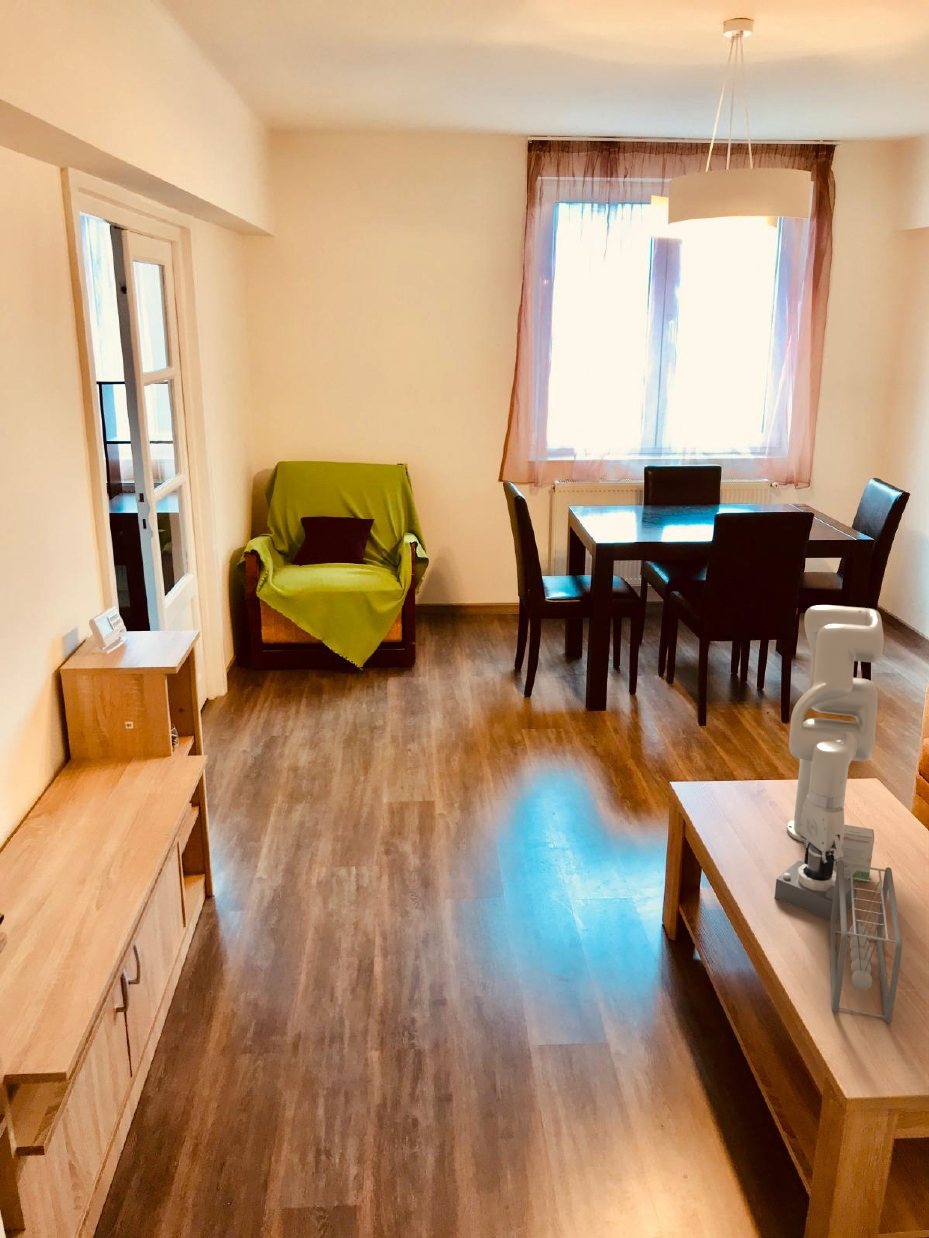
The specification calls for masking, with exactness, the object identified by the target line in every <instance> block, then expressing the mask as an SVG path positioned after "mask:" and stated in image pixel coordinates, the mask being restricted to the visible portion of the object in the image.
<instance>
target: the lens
mask: <svg viewBox="0 0 929 1238" xmlns="http://www.w3.org/2000/svg"><path fill="white" fill-rule="evenodd" d="M808 851H809V854H808V863H807V872H806V876H807V877H809V878H811V879H814V880H819V881H826V880H829V876H826V877H820V876H819V867H820V861H821V860H822V851H820V850H819V849H818V848H816V847H815V846H814V845H813V844H812V843H810V845H809V850H808ZM828 855H831V851H827V856H828Z"/></svg>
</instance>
